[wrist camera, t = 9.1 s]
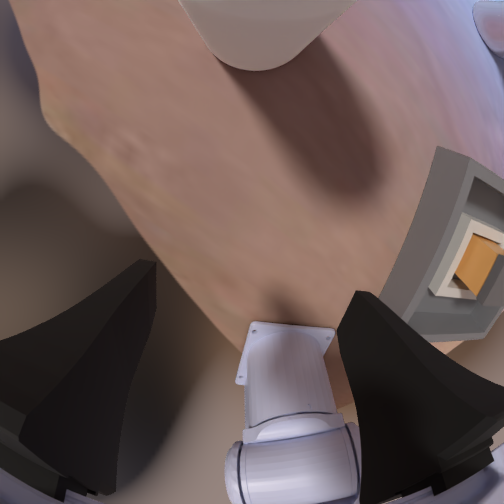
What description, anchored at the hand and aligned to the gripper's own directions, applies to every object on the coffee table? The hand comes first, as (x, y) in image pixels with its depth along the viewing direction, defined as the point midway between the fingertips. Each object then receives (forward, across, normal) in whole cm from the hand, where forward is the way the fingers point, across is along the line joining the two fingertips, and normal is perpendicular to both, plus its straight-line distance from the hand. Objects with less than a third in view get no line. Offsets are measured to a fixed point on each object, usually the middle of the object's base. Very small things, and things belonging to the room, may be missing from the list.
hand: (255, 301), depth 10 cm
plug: (+10, -21, 0) cm, 23 cm away
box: (+10, -21, 0) cm, 24 cm away
